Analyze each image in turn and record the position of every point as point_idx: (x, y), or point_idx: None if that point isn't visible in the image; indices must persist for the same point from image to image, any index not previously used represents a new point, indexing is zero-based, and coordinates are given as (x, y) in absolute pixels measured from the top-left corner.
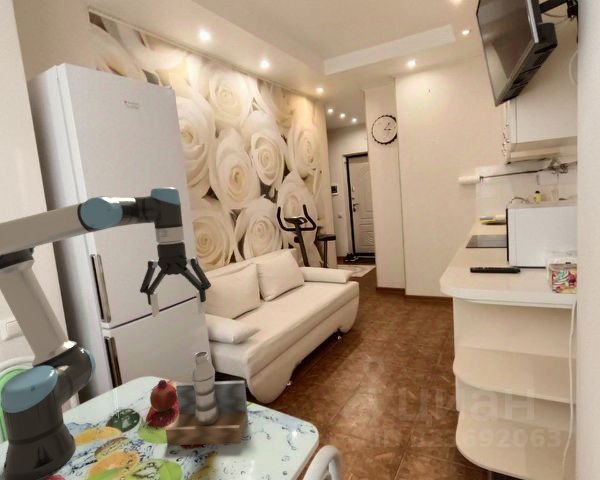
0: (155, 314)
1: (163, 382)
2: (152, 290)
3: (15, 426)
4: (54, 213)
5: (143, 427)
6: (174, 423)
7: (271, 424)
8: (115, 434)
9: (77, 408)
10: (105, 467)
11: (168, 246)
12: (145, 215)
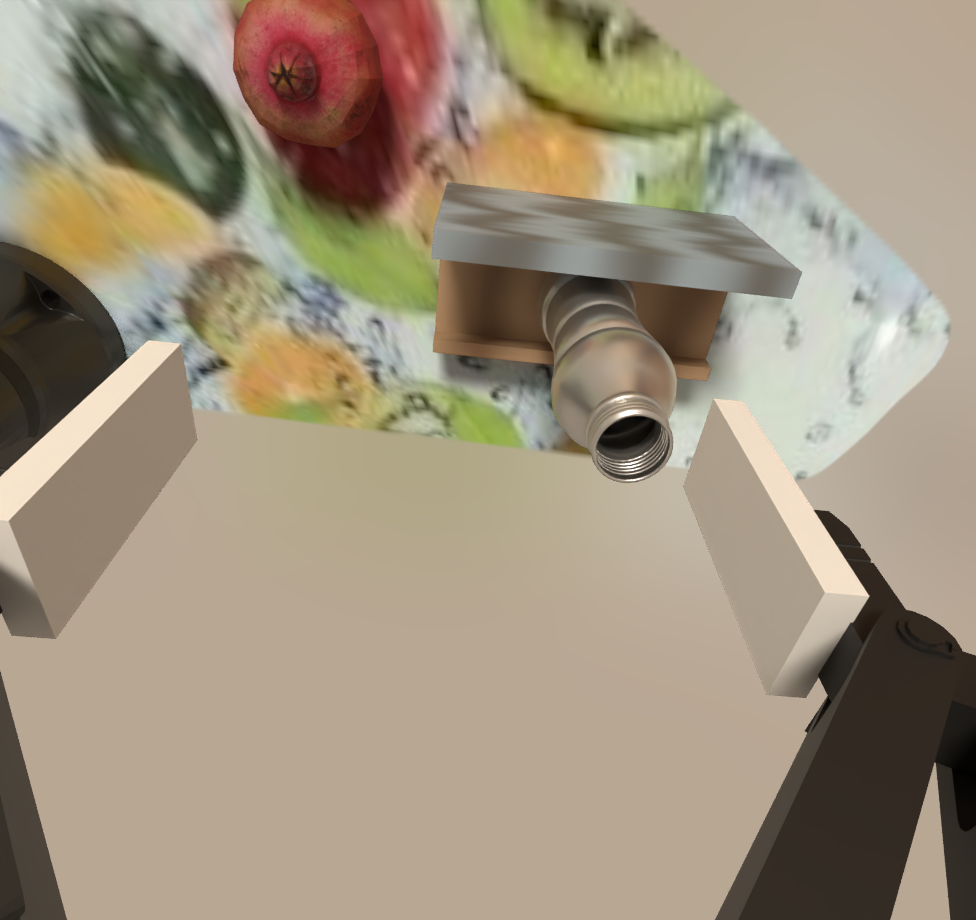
0: (187, 441)
1: (300, 89)
2: (4, 687)
3: None
4: None
5: (289, 202)
6: (442, 279)
7: (820, 270)
8: (193, 232)
9: None
10: (277, 395)
11: None
12: None
